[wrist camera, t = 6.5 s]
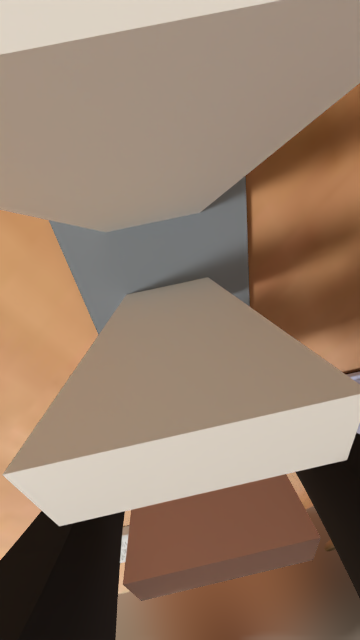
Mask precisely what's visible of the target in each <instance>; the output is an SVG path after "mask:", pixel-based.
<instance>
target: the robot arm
mask: <svg viewBox="0 0 360 640" xmlns="http://www.w3.org/2000/svg"><path fill="white" fill-rule="evenodd" d="M346 375H347V376H349V377H350V378H351V379H353V380H354V381H356V382H357V383H358V384H360V372H355V373H351V374H346ZM296 474H297V475H298V477H299V479H300V481H301V482H302V484H303V486H304V488H305V490H306V492H307V494H308V496H309V498H310V499H311V501H312V503H313V505H314V507H315V509H316V511H317V513H318V515H319V517H320V518H321V521H322V523H323V525H324V526H325V528H326V530H327V532H328V534H329V536H330V538H331V540H332V542H333V544H334V546H335V548H336V550H337V552H338V554H339V556H340V558H341V561H342V563H343V565H344V567H345V569H346V570H347V573H348V575H349V577H350V579H351V581H352V583H353V585H354V587H355V589H356V591H357V593H358V595H359V598H360V423H359V426H358V429H357V432H356V435H355V438H354V441H353V444H352V447H351V450H350V453H349V456H348V459H347V460H345V461H340V462H336V463H332V464H327V465H323V466H319V467H314V468H310V469H306V470H301V471H297V472H296ZM124 513H125V511H124V512H119V513H115V514H111V515H106V516H102V517H98V518H93V519H89V520H85V521H80V522H76V523H72V524H68V525H63V526H58V525H57V524H56V523H55V522H54V521H53V520H52V519H51V518H49V517H48V516H47V515H46V514H45V513H44V512H43V511H41V512H40V514H39V515H38V516H37V517H36V519H35V520H34V521H33V522H32V523H31V525H30V526H29V527H28V528H27V529H26V531H25V532H24V533H23V534H22V535H21V537H20V538H19V539H18V540H17V541H16V543H15V544H14V545H13V546H12V547H11V549H10V550H9V551H8V552H7V553H6V555H5V556H4V557H3V558H2V559H1V560H0V640H115V637H116V635H115V634H116V618H117V597H118V584H119V569H120V555H121V543H122V531H123V521H124Z"/></svg>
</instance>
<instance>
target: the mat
mask: <svg viewBox="0 0 360 640" xmlns="http://www.w3.org/2000/svg"><path fill="white" fill-rule="evenodd" d="M49 222H50V224H51V226H52V229H53V231H54V233H55V236H56V238H57V240H58V243H59V245H60V247H61V249H62V252H63V254H64V256H65V259H66V261H67V263H68V265H69V268H70V270H71V272H72V275H73V277H74V279H75V282H76V284H77V286H78V288H79V291H80V293H81V295H82V298H83V300H84V302H85V305H86V307H87V309H88V311H89V314H90V316H91V318H92V321H93V323H94V325H95V327H96V330H97V332H98V334H100V332H101V331H102V329H103V328H104V326H105V325H106V324H107V322H108V321H109V319H110V318H111V316H112V315H113V313H114V312H115V310H116V309H117V308H118V306H119V305H120V303H121V302H122V300H123V299H124V297H125V296H126V295H127V294H132V293H137V292H141V291H146V290H151V289H155V288H160V287H165V286H169V285H174V284H179V283H183V282H188V281H193V280H197V279H202V278H207V277H208V278H210V279H211V280H213V281H214V282H215V283H217V284H218V285H220V286H221V287H223V288H224V289H225V290H227V291H228V292H230V293H231V294H232V295H234V296H235V297H237V298H238V299H240V300H241V301H242V302H244V303H245V304H247V305H248V306H249V307H250V303H249V271H248V239H247V207H246V176H244V177H243V178H242V179H241V180H240V181H238V182H237V183H236V184H235V185H233V186H232V187H231V188H230V189H228V190H227V191H226V192H225V193H224V194H222V195H221V196H220V197H219V198H217V199H216V200H215V201H214V202H212V203H211V204H210V205H209V206H207V207H206V208H205V209H204V210H203V211H201V212H200V213H196V214H191V215H186V216H182V217H177V218H172V219H167V220H162V221H158V222H153V223H148V224H143V225H139V226H134V227H129V228H124V229H119V230H115V231H110V232H102V231H97V230H93V229H88V228H83V227H79V226H74V225H69V224H65V223H60V222H55V221H51V220H49Z"/></svg>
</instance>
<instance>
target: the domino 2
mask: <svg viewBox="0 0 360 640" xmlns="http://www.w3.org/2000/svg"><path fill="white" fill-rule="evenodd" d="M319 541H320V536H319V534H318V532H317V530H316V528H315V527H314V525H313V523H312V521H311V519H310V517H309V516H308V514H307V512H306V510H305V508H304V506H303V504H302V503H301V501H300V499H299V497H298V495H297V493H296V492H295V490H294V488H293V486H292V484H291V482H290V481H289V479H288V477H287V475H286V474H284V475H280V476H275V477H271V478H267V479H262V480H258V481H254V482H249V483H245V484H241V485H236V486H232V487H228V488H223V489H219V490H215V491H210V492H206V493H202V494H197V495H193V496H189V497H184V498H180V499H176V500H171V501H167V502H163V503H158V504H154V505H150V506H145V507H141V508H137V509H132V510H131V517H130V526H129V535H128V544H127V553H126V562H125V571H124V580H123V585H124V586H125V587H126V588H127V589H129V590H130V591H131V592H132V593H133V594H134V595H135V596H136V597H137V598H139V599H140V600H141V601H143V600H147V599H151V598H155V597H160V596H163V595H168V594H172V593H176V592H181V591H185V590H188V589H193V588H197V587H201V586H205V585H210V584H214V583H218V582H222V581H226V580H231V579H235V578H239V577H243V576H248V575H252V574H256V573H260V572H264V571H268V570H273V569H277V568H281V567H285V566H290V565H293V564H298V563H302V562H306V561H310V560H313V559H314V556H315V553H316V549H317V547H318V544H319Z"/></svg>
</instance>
